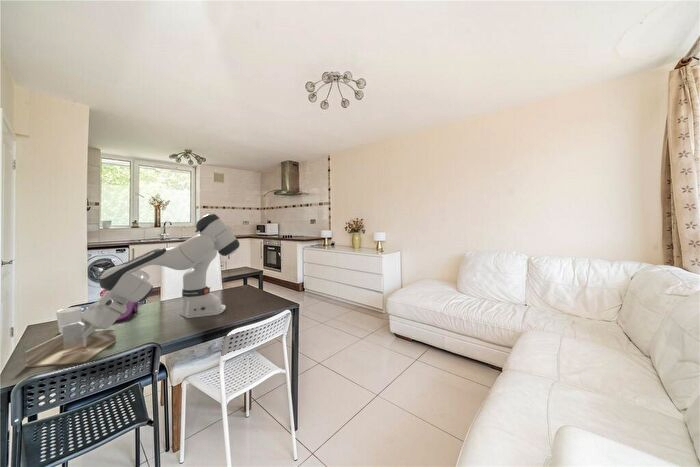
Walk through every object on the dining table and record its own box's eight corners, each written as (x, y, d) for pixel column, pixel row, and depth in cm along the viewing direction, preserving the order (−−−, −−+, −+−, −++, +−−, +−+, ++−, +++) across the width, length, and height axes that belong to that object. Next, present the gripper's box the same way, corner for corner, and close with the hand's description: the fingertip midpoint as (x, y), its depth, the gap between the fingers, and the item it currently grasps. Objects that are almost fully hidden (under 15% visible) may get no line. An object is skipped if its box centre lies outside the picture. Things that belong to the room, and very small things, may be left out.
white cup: (53, 335, 112) (52, 314, 111) (63, 328, 119) (62, 308, 118) (77, 332, 115) (76, 311, 115) (85, 325, 122) (84, 305, 122)
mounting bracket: (130, 329, 132) (138, 305, 145) (128, 318, 128) (136, 294, 142) (107, 333, 127) (117, 308, 141) (103, 321, 123) (114, 296, 137)
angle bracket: (81, 343, 101) (80, 321, 100) (86, 346, 98) (85, 324, 98) (63, 348, 96) (61, 326, 96) (67, 352, 94) (66, 329, 93)
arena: (116, 341, 108) (115, 328, 107) (85, 362, 92) (84, 347, 92) (66, 344, 104) (65, 331, 104) (25, 367, 88) (24, 352, 88)
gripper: (94, 295, 109) (62, 325, 101) (114, 303, 100) (81, 337, 92) (108, 302, 114) (78, 331, 106) (128, 311, 104) (98, 343, 96)
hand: (80, 334), depth 99 cm, fingers closed on angle bracket, 5 cm apart
